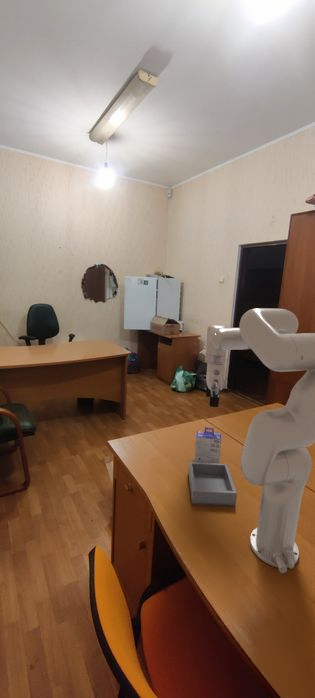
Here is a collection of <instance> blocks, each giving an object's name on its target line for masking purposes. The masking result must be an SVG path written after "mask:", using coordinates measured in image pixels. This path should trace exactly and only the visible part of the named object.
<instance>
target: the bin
mask: <svg viewBox="0 0 315 698" xmlns="http://www.w3.org/2000/svg"><path fill="white" fill-rule="evenodd" d="M187 474H188V481H189V482H188V483H189V489H190V497H191V505H192V506H193V505H195V506H196V505H197V506H212V507H213V506H214V507H217V506H218V507H235V508H236V504H237V496H238V494H237V493H238V492H237V490H236V486H235V485H234V480H233V478H232V475H231V472H230V469H229V466H228V463H220V462H219V463H199V462H194V461H189V463H188V473H187Z"/></svg>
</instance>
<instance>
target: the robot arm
mask: <svg viewBox="0 0 315 698" xmlns="http://www.w3.org/2000/svg"><path fill="white" fill-rule="evenodd" d="M238 326H239V327H227V326H226V325H222V324H211V325H210V324H209V325H208V326H207V331H206V339H205V340H206V342H205V343H206V344H205V353H204V354H205V356H204V362H205V363H206V364H207V366H206V376H205V377H206V378H205V379H206V390H205V397H208V398H209V407H211V408H212V407H213V408H218V407H219V403H220V402H219V401H220V391H222V390H223V386H224V385H223V384H224V365H226V362H227V351H231V350H232V351H234V350H242V351H243V350H251V351H252V352H253V353H254V354H255V355H256V357H258V359H259V360H260V361H261V363H262V364H263V365H264V366H265V367H266V368H267V369H269V370H270V371H274V372H279V373H283V372H284V373H285V372H299V371H300V372H302V371H306V372H305V373H304V374H303V376H302V377H301V378H300V379H299V380H298V381H297V382H296V383H295V385H294V386H293V388H292V389H291V390H290V394H289V398H288V400H287V402H286V404H285V405H284V406H283V407H281V408H275V409H266V410H262V411H260V412H258V413H257V414H255V416H254V417H253V418H252V420H251V422H250V424H249V427H248V430H247V434H246V436H245V437H246V438H245V440H244V445H243V448H242V451H241V456H240V469H241V472H242V475H243V477H244V478H245V480H246V482H248V483H249V484H251V485H253V486H256V487H262V490H261V496H260V505H259V511H258V521H257V527H256V528H254V529H253V530H252V531H251V532H250V535H249V544H250V548H251V549H252V551H253V553H254V554H255V556H257V558H259V559H260V560H261V561H263V562H264V563H266V564H268V565H270V566H272V567H275V568H278V571H279V572H280V573H281V574H286V573H287V571H288V568H289V569H294V568H295V565H296V564H297V562H298V561H299V557H300V550H299V547H298V544H297V543H296V542H295V540H296V533H297V528H298V522H299V515H300V510H301V503H302V499H303V494H304V490H305V487H306V484H307V481H308V479H309V476H310V474H311V470H312V468H313V467H312V465H313V464H312V456H311V454H310V452H309V451H308V448H307V447H310V446H312V445H313V444H314V443H315V332H312V333H311V332H307V333H297V331H298V329H299V319H298V318H297V316H296V315H295V313H293V312H292V311H290V310H288V309H285V308H267V307H266V308H264V307H263V308H261V307H259V308H256V307H255V308H252V309H249V310H247V311H246V312H245V313H244V314H242V316H241V318H240V321H239V325H238Z"/></svg>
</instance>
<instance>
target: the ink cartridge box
mask: <svg viewBox="0 0 315 698" xmlns="http://www.w3.org/2000/svg"><path fill="white" fill-rule="evenodd" d="M207 430H209V431H207ZM194 444H195V445H194V446H195V450H194V460H193V462H199V463H220V459H221V458H220V457H221V447H222V434H221V433H219V432H215V428H213V427H206V426H205V427H204V430H203V431H201V430H197V431H196V435H195V443H194Z"/></svg>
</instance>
